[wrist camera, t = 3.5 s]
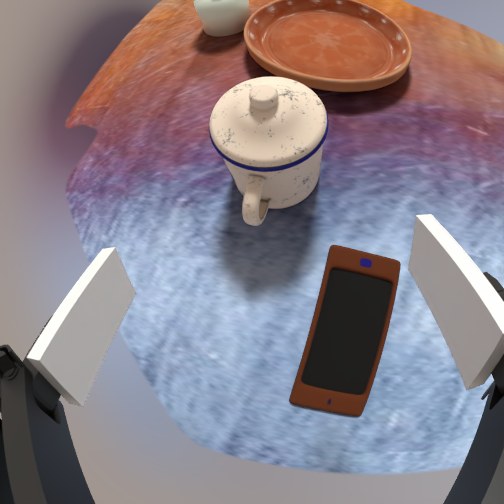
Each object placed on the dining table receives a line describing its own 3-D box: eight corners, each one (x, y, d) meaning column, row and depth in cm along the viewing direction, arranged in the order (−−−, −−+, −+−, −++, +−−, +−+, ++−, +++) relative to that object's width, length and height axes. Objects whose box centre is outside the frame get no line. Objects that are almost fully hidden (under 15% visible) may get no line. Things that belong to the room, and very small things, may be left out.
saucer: (435, 94, 28) (443, 77, 25) (269, 116, 30) (265, 95, 27) (363, 8, 34) (365, -8, 30) (235, 22, 36) (230, 6, 32)
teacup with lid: (244, 129, 30) (219, 51, 19) (327, 141, 28) (336, 60, 17) (213, 231, 28) (162, 179, 17) (307, 250, 26) (313, 203, 15)
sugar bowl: (250, 9, 36) (243, -23, 29) (254, 31, 34) (246, -5, 27) (204, 18, 37) (193, -13, 30) (202, 41, 35) (189, 6, 28)
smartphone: (402, 260, 24) (362, 418, 22) (399, 262, 25) (359, 415, 23) (331, 242, 26) (287, 403, 23) (329, 245, 27) (288, 400, 24)
